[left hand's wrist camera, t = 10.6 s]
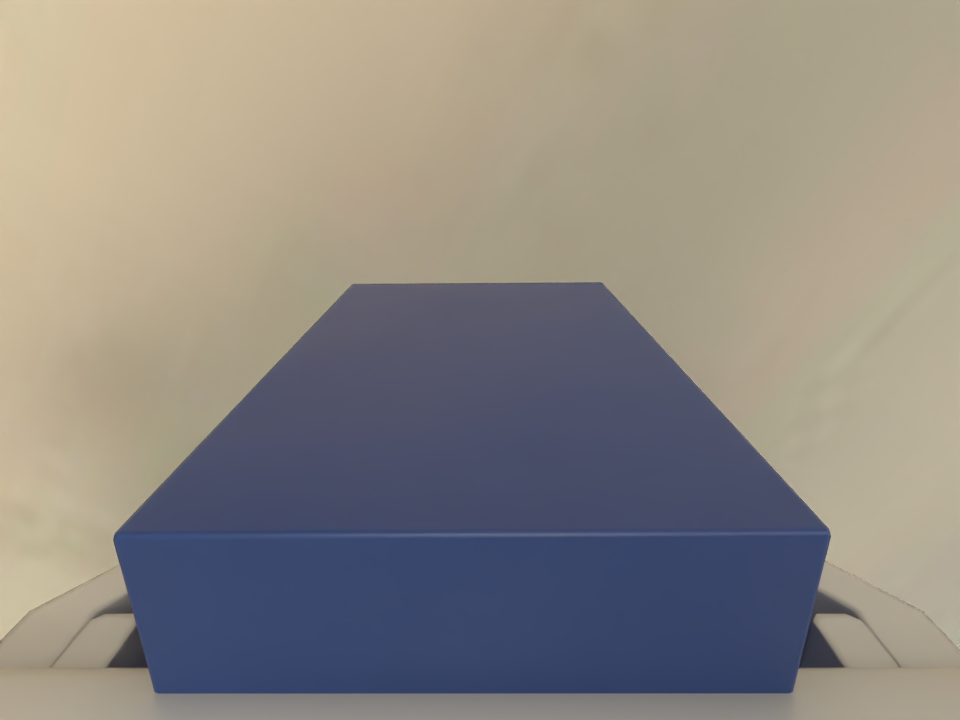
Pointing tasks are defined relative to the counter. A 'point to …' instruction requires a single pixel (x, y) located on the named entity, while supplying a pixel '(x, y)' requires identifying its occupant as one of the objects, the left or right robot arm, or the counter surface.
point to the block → (473, 515)
